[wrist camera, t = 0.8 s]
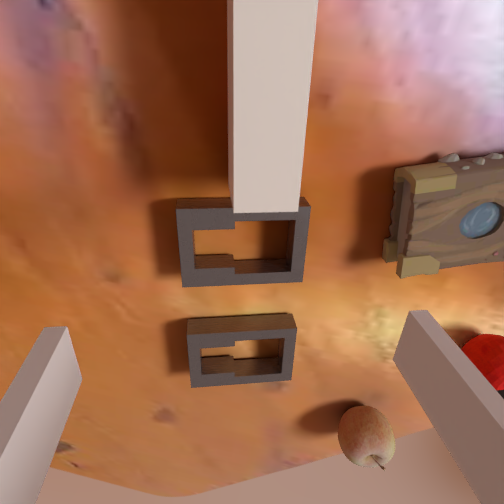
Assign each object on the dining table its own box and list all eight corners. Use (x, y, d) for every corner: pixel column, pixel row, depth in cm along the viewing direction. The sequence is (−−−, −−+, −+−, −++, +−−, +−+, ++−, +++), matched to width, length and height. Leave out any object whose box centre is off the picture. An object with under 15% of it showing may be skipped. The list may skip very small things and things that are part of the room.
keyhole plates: (177, 198, 31) (175, 209, 29) (303, 196, 33) (310, 206, 31) (192, 370, 42) (191, 387, 40) (286, 364, 43) (291, 380, 41)
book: (381, 258, 38) (403, 284, 33) (391, 157, 32) (419, 172, 28) (508, 239, 39) (547, 262, 34) (539, 138, 33) (589, 149, 29)
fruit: (389, 398, 49) (420, 453, 42) (368, 430, 52) (393, 487, 45) (341, 393, 47) (365, 450, 41) (323, 427, 51) (341, 486, 44)
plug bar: (224, -97, 22) (233, -174, 15) (292, -92, 23) (333, -164, 15) (227, 176, 31) (233, 213, 24) (276, 176, 32) (298, 211, 24)
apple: (466, 315, 43) (512, 360, 36) (515, 324, 45) (567, 369, 38) (433, 361, 46) (470, 410, 40) (480, 368, 48) (522, 415, 42)
